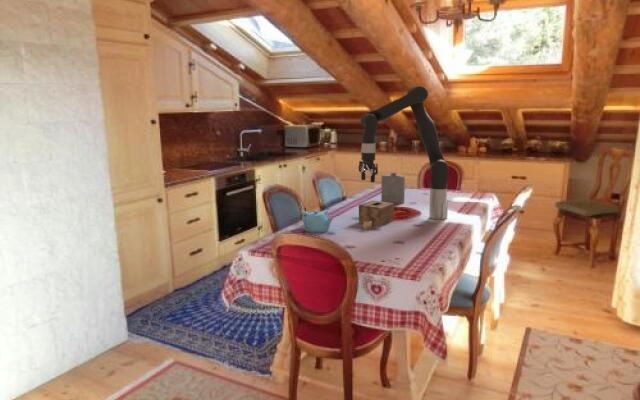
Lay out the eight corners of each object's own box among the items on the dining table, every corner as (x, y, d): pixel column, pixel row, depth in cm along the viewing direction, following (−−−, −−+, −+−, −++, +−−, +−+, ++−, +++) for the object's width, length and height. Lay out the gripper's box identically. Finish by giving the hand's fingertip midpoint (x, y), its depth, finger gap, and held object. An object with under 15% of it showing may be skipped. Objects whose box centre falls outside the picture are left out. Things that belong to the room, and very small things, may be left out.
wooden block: (371, 227, 255) (371, 220, 254) (366, 230, 251) (366, 222, 250) (368, 227, 256) (368, 220, 255) (363, 229, 252) (363, 222, 252)
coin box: (393, 220, 269) (393, 203, 266) (380, 226, 258) (380, 208, 256) (372, 217, 277) (372, 200, 275) (358, 222, 267) (358, 204, 264)
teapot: (329, 225, 261) (329, 206, 259) (333, 233, 246) (332, 212, 244) (301, 227, 259) (300, 207, 257) (303, 234, 245) (302, 214, 242)
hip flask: (380, 201, 318) (380, 171, 314) (382, 200, 322) (383, 170, 317) (403, 203, 310) (403, 173, 306) (405, 202, 314) (406, 172, 309)
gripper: (382, 152, 255) (381, 182, 258) (366, 149, 267) (365, 178, 270) (370, 153, 251) (370, 183, 254) (355, 150, 263) (354, 179, 266)
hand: (367, 181), depth 262 cm, fingers open, 8 cm apart
